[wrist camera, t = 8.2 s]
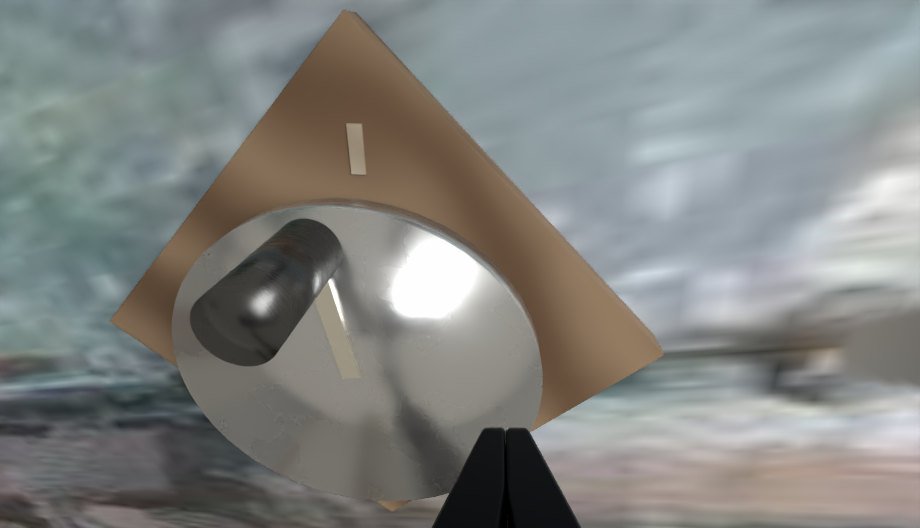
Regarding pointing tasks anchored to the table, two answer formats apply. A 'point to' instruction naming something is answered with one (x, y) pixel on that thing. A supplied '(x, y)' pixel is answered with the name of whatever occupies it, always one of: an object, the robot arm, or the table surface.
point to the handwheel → (355, 347)
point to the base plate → (408, 187)
